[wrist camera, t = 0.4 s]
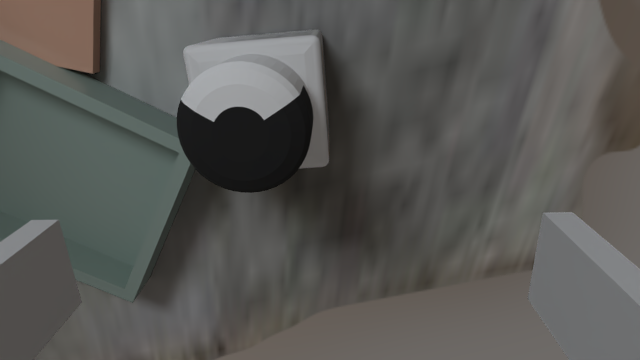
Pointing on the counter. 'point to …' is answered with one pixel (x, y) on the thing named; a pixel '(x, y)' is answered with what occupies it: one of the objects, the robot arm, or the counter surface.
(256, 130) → the container
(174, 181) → the box
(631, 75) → the counter surface
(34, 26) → the terracotta tile
